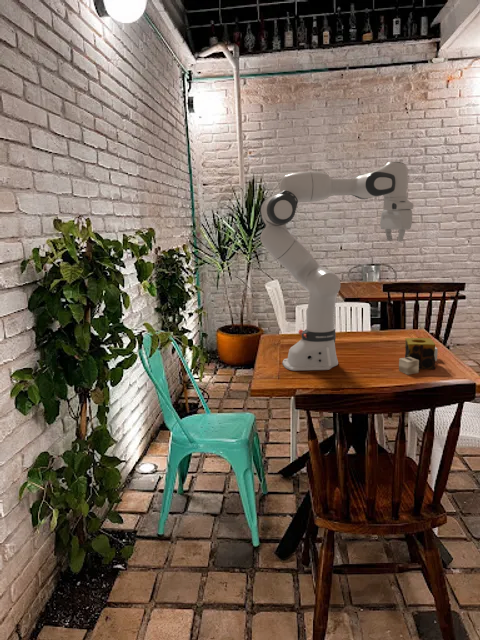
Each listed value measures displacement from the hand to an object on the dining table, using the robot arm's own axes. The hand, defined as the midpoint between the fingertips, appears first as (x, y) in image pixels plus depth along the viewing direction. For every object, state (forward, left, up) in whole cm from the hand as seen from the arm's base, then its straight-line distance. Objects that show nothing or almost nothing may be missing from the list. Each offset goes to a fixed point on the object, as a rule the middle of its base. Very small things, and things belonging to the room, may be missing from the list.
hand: (394, 241), depth 189 cm
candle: (+5, -13, -48) cm, 50 cm away
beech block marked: (-2, -19, -48) cm, 52 cm away
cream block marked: (+13, -6, -48) cm, 50 cm away
